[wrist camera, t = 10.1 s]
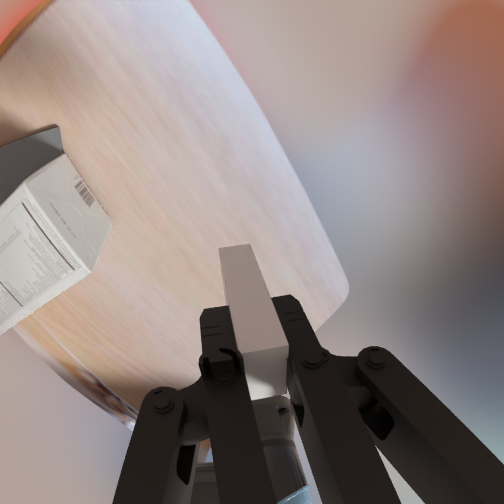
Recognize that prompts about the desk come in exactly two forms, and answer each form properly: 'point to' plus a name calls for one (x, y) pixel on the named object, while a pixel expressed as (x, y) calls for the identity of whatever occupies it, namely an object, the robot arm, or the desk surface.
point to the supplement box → (47, 238)
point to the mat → (27, 158)
